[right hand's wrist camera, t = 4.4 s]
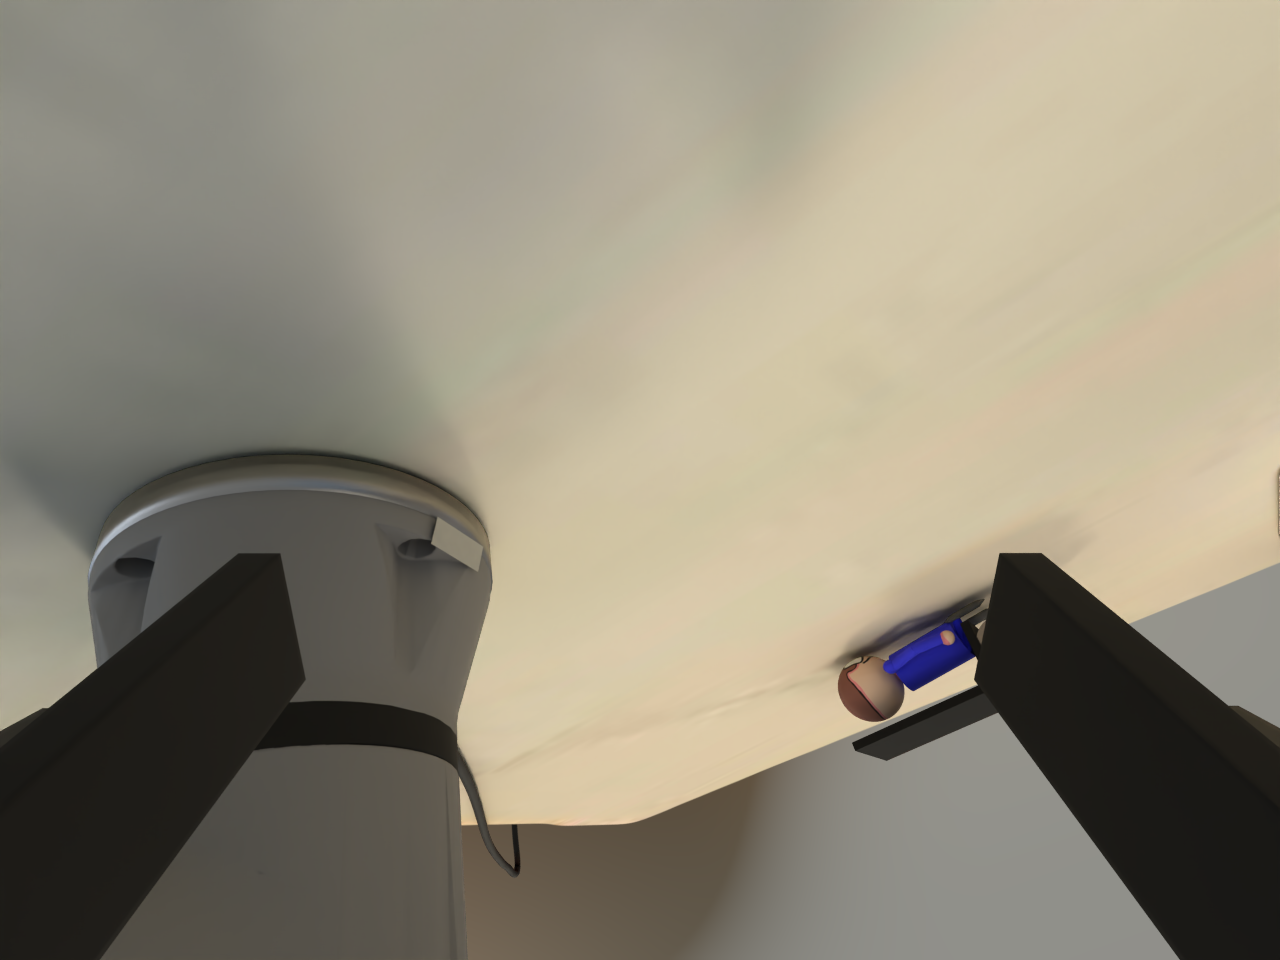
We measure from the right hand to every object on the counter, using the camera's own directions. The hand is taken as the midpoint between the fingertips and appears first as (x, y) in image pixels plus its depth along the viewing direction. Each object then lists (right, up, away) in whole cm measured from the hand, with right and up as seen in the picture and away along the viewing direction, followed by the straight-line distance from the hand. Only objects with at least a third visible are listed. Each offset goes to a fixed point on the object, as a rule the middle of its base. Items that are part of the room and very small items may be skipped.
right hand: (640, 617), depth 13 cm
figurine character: (+21, -9, +40) cm, 47 cm away
